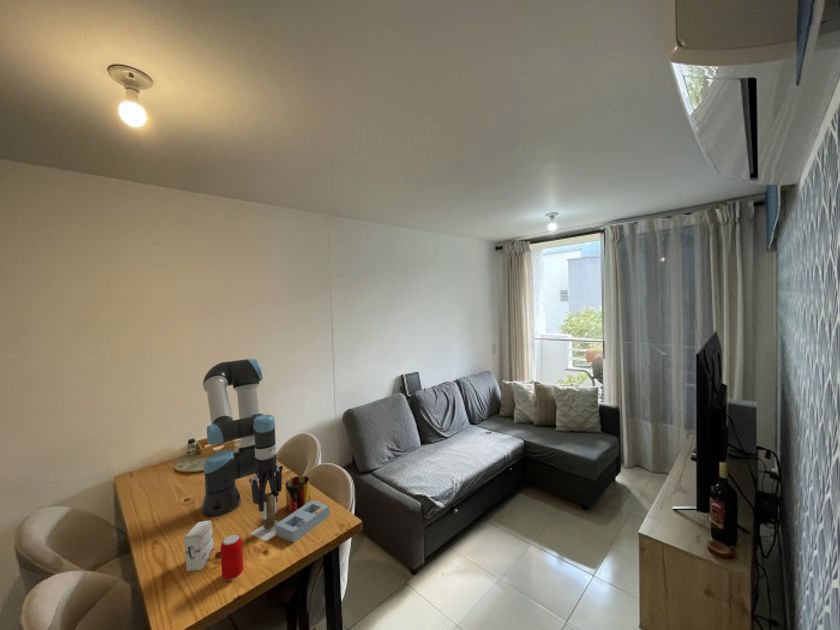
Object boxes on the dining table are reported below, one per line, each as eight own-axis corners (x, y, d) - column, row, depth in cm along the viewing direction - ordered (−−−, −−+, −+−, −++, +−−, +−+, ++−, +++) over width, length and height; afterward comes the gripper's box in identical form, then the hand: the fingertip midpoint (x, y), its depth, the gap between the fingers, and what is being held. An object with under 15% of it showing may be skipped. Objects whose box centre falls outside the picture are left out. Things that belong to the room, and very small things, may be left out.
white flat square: (250, 536, 129) (249, 533, 129) (272, 521, 138) (272, 518, 138) (266, 544, 124) (266, 541, 124) (289, 528, 133) (289, 525, 133)
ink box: (200, 553, 121) (198, 521, 120) (214, 552, 121) (212, 519, 121) (185, 572, 112) (183, 537, 112) (201, 570, 112) (199, 535, 112)
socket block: (276, 537, 128) (275, 523, 127) (312, 511, 143) (311, 499, 143) (294, 545, 123) (293, 531, 123) (329, 517, 138) (329, 505, 138)
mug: (295, 523, 136) (293, 493, 136) (283, 508, 146) (282, 481, 146) (317, 512, 142) (316, 484, 142) (305, 499, 153) (304, 473, 152)
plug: (261, 526, 130) (260, 496, 130) (270, 521, 134) (268, 491, 133) (268, 529, 129) (266, 499, 128) (276, 524, 132) (275, 494, 132)
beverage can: (233, 566, 114) (231, 531, 113) (247, 569, 112) (245, 534, 112) (217, 580, 108) (215, 543, 108) (232, 584, 106) (230, 547, 106)
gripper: (252, 467, 121) (255, 530, 122) (290, 449, 136) (292, 506, 136) (239, 463, 125) (242, 524, 126) (277, 446, 139) (280, 501, 140)
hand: (268, 514), depth 131 cm, fingers closed on plug, 4 cm apart
